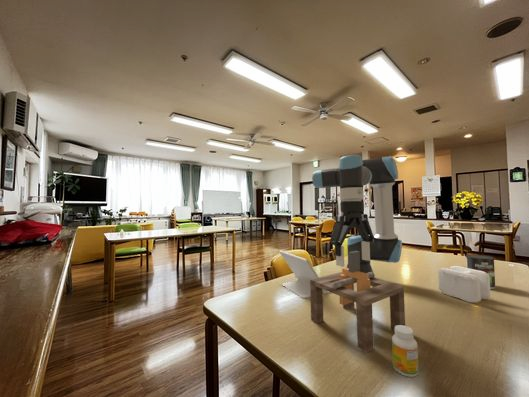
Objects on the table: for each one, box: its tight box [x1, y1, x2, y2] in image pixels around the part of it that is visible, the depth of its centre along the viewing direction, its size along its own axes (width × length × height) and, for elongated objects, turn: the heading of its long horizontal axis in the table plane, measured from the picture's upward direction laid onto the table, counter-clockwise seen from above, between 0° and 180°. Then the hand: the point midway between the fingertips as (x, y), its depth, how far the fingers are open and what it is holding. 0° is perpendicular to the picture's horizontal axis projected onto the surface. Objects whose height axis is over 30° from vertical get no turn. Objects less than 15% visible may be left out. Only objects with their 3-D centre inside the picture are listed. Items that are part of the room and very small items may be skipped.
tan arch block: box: [339, 251, 371, 306], centre depth 78 cm, size 8×5×18 cm, turn 32°
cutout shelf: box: [310, 271, 406, 353], centre depth 77 cm, size 22×20×16 cm
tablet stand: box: [278, 249, 331, 300], centre depth 115 cm, size 18×25×17 cm
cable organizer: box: [437, 265, 492, 304], centre depth 98 cm, size 15×11×12 cm
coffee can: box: [465, 253, 497, 290], centre depth 112 cm, size 10×10×14 cm
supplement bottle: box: [391, 325, 419, 378], centre depth 56 cm, size 5×5×10 cm
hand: (353, 262), depth 78 cm, fingers open, 13 cm apart
